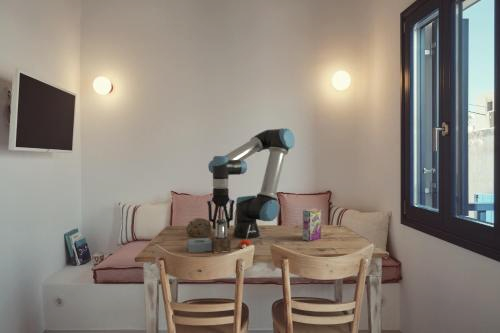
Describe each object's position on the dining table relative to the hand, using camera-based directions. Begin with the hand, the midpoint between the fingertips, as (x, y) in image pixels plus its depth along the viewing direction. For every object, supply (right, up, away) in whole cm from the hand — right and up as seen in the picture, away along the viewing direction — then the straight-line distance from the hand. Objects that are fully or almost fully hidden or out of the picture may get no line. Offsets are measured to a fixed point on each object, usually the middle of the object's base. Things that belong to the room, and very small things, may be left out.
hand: (221, 235), depth 166 cm
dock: (-11, -7, +3) cm, 13 cm away
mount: (0, -7, 0) cm, 7 cm away
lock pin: (0, -7, 0) cm, 7 cm away
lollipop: (+13, -8, +5) cm, 16 cm away
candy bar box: (+49, -7, +22) cm, 54 cm away
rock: (-16, -7, +37) cm, 41 cm away
